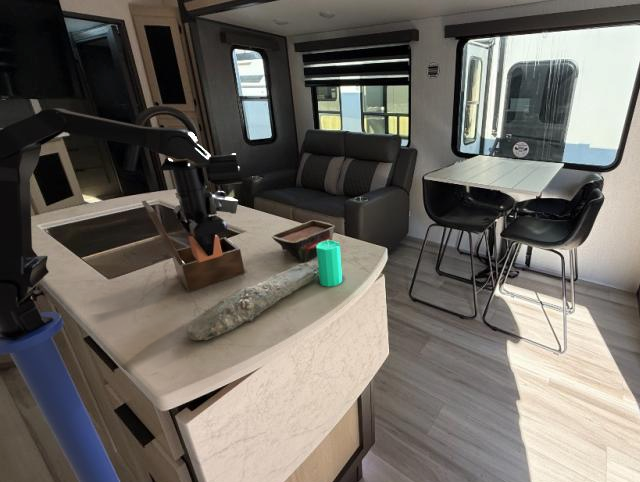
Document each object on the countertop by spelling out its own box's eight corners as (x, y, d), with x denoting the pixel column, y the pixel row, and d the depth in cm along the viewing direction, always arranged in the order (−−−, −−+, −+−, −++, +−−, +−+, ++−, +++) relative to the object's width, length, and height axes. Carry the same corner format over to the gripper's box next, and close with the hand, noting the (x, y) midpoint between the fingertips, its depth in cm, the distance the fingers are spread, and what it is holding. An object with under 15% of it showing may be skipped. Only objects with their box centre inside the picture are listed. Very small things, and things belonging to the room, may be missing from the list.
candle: (331, 289, 81) (327, 246, 77) (314, 282, 84) (310, 240, 80) (347, 278, 86) (344, 237, 81) (330, 272, 88) (327, 233, 84)
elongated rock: (333, 277, 88) (307, 270, 93) (331, 260, 87) (305, 253, 92) (205, 351, 59) (178, 335, 64) (199, 327, 58) (172, 312, 63)
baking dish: (273, 257, 101) (265, 231, 96) (318, 233, 113) (313, 208, 108) (299, 275, 93) (292, 247, 88) (345, 247, 105) (341, 221, 100)
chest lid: (145, 200, 78) (141, 201, 77) (154, 210, 70) (150, 212, 70) (171, 249, 85) (168, 250, 84) (183, 263, 77) (179, 265, 77)
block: (199, 262, 73) (194, 242, 71) (193, 255, 76) (188, 236, 74) (222, 255, 76) (218, 236, 74) (216, 249, 79) (211, 230, 77)
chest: (229, 259, 96) (225, 236, 94) (244, 272, 89) (240, 248, 86) (177, 275, 87) (170, 251, 85) (188, 291, 79) (181, 266, 77)
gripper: (245, 189, 69) (256, 253, 75) (217, 176, 82) (229, 232, 87) (186, 199, 62) (204, 270, 67) (165, 183, 74) (182, 244, 80)
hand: (207, 251), depth 76 cm, fingers closed on block, 5 cm apart
